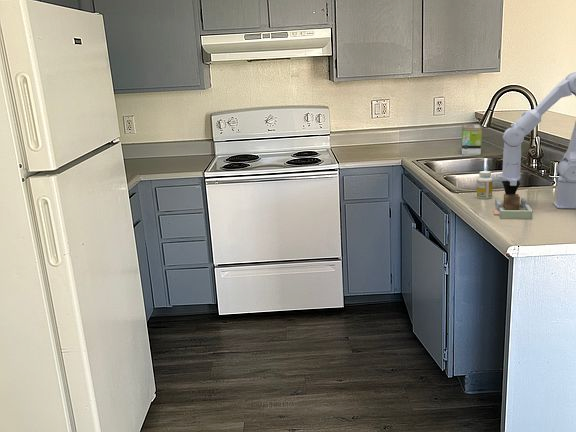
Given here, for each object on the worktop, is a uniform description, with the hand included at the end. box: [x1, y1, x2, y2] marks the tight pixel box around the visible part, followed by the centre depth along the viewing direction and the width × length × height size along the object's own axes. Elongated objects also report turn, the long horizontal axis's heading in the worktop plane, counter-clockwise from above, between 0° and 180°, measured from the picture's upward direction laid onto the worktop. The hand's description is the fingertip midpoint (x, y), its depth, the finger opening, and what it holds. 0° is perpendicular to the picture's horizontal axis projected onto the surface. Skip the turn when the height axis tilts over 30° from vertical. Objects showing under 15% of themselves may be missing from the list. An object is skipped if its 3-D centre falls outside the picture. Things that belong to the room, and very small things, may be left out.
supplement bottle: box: [476, 170, 494, 200], centre depth 208 cm, size 5×5×10 cm
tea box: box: [460, 124, 483, 156], centre depth 303 cm, size 15×10×15 cm
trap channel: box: [492, 197, 533, 220], centre depth 188 cm, size 12×18×2 cm
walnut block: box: [502, 193, 521, 210], centre depth 192 cm, size 4×4×4 cm
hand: (509, 201), depth 196 cm, fingers closed
